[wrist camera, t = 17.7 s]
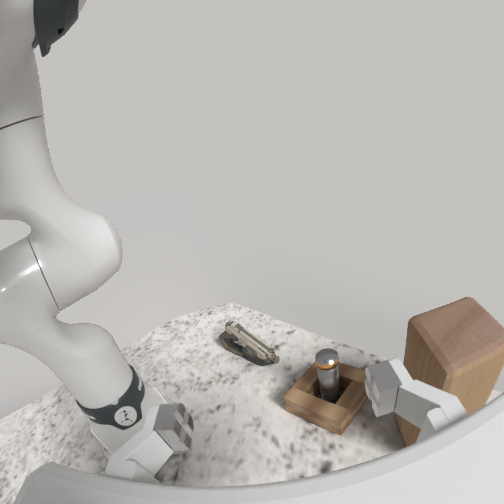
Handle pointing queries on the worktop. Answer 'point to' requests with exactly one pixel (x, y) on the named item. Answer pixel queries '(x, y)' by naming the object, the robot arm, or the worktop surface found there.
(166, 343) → the worktop surface
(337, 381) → the grey metal cylinder
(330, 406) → the bore block
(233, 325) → the futuristic pistol
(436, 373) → the wooden block
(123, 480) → the robot arm
